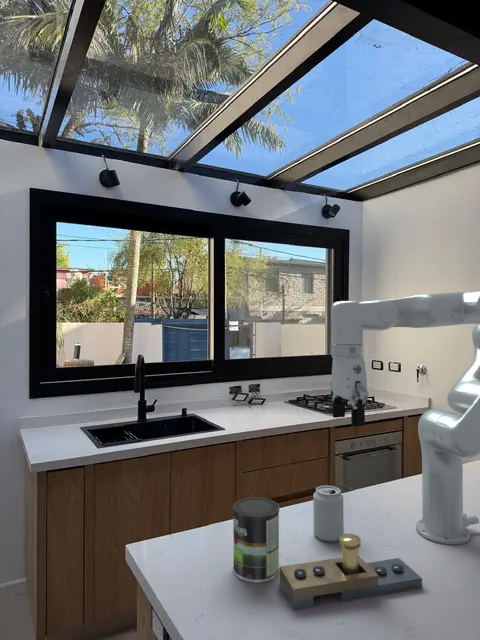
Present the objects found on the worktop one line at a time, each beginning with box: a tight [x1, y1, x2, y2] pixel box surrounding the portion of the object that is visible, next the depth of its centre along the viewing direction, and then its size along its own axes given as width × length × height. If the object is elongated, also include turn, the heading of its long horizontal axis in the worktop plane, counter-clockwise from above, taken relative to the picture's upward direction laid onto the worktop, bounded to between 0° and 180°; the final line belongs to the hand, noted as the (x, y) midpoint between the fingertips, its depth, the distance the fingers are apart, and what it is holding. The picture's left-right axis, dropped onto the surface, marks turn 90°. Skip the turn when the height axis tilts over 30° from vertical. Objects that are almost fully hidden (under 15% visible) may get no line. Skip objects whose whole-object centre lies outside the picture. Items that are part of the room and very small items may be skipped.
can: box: [312, 484, 345, 543], centre depth 113 cm, size 8×8×12 cm
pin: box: [339, 533, 362, 576], centre depth 91 cm, size 4×4×10 cm
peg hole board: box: [279, 554, 423, 611], centre depth 91 cm, size 28×8×5 cm, turn 104°
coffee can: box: [232, 496, 280, 584], centre depth 98 cm, size 10×10×14 cm
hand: (348, 421), depth 109 cm, fingers open, 9 cm apart
